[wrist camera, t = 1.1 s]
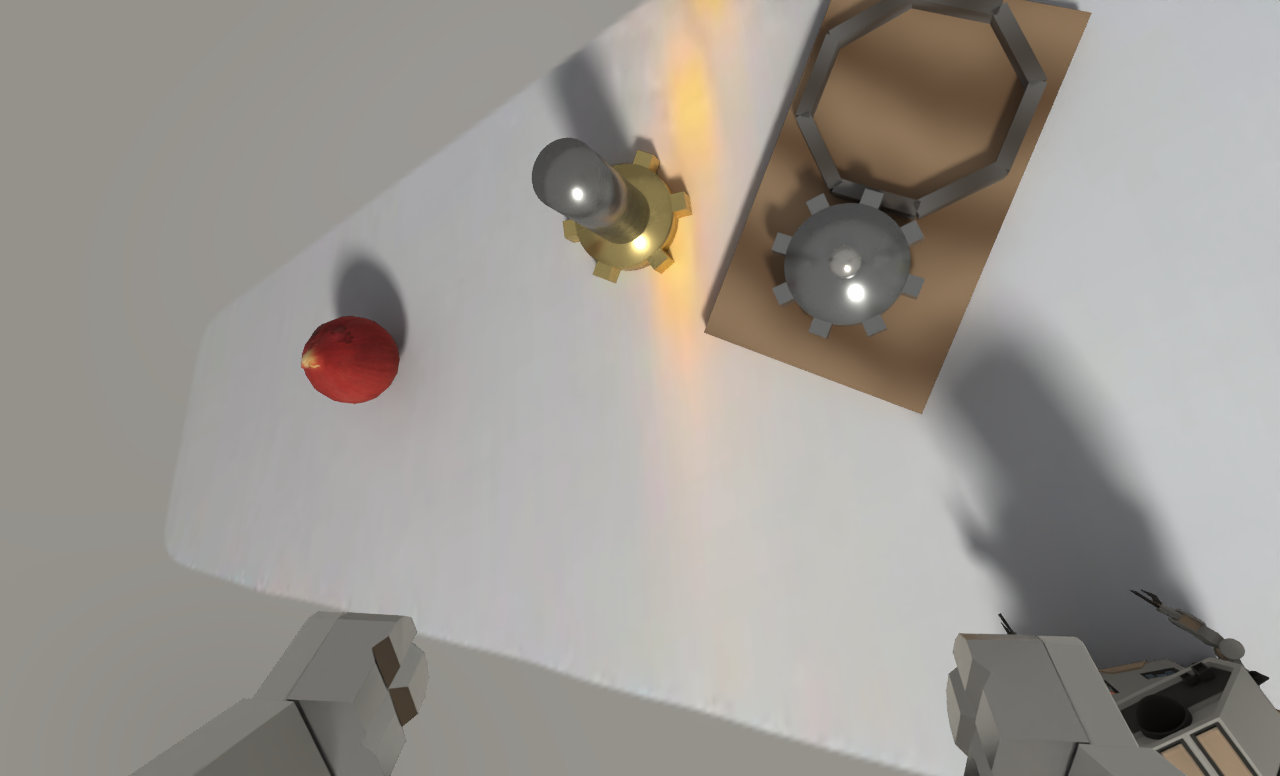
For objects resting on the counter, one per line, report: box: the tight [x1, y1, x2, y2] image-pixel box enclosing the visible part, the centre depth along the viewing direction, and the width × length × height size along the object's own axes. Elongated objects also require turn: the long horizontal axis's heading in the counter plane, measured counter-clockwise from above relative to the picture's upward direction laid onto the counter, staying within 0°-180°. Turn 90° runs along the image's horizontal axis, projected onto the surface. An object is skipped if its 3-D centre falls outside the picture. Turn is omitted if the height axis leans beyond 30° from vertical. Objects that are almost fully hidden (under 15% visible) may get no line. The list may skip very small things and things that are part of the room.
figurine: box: [998, 589, 1280, 776], centre depth 29 cm, size 9×12×15 cm
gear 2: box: [771, 189, 925, 340], centre depth 38 cm, size 8×8×3 cm
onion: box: [301, 316, 400, 404], centre depth 47 cm, size 6×6×8 cm
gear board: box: [704, 0, 1091, 414], centre depth 39 cm, size 22×13×2 cm, turn 158°
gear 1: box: [532, 138, 692, 283], centre depth 40 cm, size 8×8×10 cm
